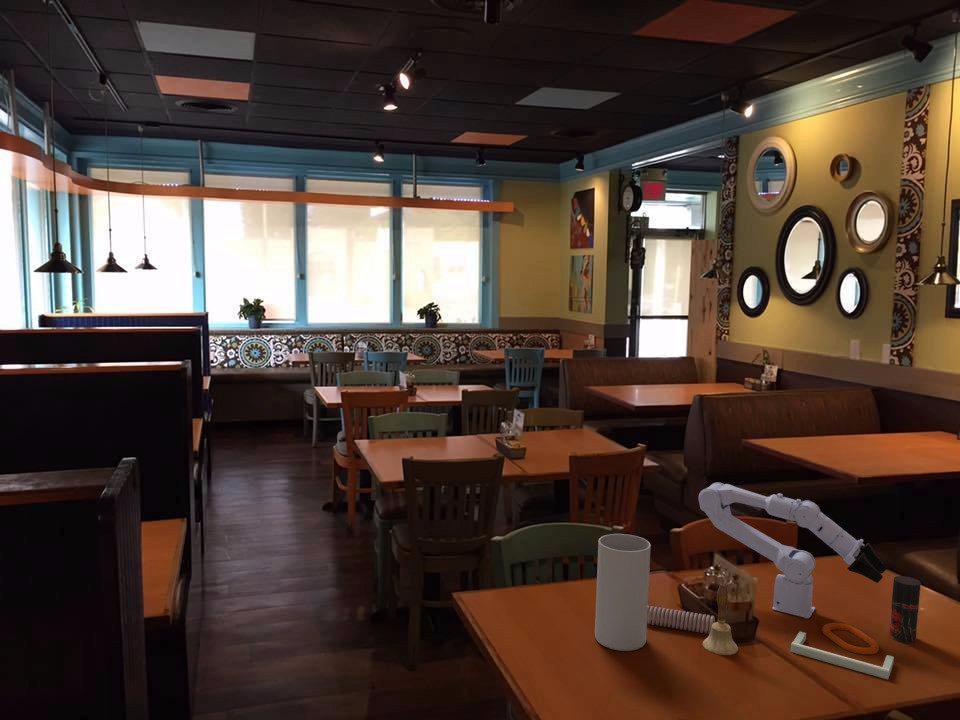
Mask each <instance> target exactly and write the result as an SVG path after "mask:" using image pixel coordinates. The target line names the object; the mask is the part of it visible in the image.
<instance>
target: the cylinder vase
mask: <svg viewBox="0 0 960 720" xmlns="http://www.w3.org/2000/svg"><path fill="white" fill-rule="evenodd" d="M597 545H598V546H597V549H598V550H597V571H596V572H597V573H596V596H595V597H596V598H595V600H596V601H595V621H594V623H595V625H594V637H595V639H596V641H597V642H598V643H599V644H600V645H602V646H603V647H606V648H607V649H611V650H614V651H619V652H620V651H621V652H632V651H635V650H639V649H640V648H643V646H644V645H646V642H647V631H648V630H647V629H648V616H647V611H648V605H649V604H648V603H649V588H650V587H649V583H650V563H651V546H652V545H651V543H650V542H649V541H648V540H647V539H645V538H644V537H640V536H637V535H632V534H628V533H627V534H623V533H611V534H606V535H602V536H601V537H600V538H598V544H597Z"/></svg>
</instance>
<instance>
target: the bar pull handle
mask: <svg viewBox="0 0 960 720" xmlns="http://www.w3.org/2000/svg"><path fill="white" fill-rule="evenodd" d="M806 640H807V633H806V632H803V631H799V632H798V633H797V634H796V637H795V638H794V640H793V641H792V642H791V644H790V652H791V653H795V654H798V655H799V656H800V655H801V656H804V657H807V658H811V659H815V660H819V661H822V662H824V663H825V662H826V663H829V664H833V665H835V666H839V667H843V668H846V669H850V670H853V671H856V672H860V673H863V674H866V675H871V676H874V677H877V678H881V679H884V680H889V677H890V675H891V673H892V670H893V666H894V660H895V657H894V656H892V655H888V654H887V655H886V656H885V659H884V662H883V665H882V666H879V665H875V664H872V663H868V662H865V661H861V660H858V659H854V658H850V657H846V656H844V655H840V654H837V653H832V652H829V651H825V650H822V649H818V648H815V647H811V646H807V645H806V644H805V645H804V643H805V642H806Z"/></svg>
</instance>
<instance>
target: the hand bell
mask: <svg viewBox="0 0 960 720" xmlns="http://www.w3.org/2000/svg"><path fill="white" fill-rule="evenodd" d="M728 594H729V593H728V590H727V586H726V584H725V583H719V586H718V589H717V592H716V603H717V608H718V609H717V610H718V613H717V614H718V615H717V621H715V623H713V624H712V627H711V632H710V634H708V636H707V637H706V638H705V639H703V641H702V646H703V648H704V649H705V650H706V651H708V652H710V653H712V654H716V655H719V656H732V655H735V654H736V653H738V651H739V647H738V645H737V644H736V642H735V641H734V639H733V636H732V629H731V626H730V625H729V624H728V623H726V607H727V605H728V599H729V598H728V597H729V596H728Z"/></svg>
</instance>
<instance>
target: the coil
mask: <svg viewBox="0 0 960 720" xmlns="http://www.w3.org/2000/svg"><path fill="white" fill-rule="evenodd" d="M713 623H716V618H715V616H714V615H710V614H707V615H706V614H705V613H704V614H702V613H699V614H698V612H695V613H694V612H693V611H692V612H691V611H687V612H686V610H683V611H682V610H678V609H673V608H672V609H670V608H665V607H661V606H660V607H658V606H655V607H654V605H651V606H650V605H649V604H648V611H647V625H652V626H654V625H656V626H660V627H664V628H666V627H667V628H668V629H669V628H671V629H676V630H678V629H679V630H681V631H682V630H683V631H689V632H690V631H692V632H693V633H694V632H696V633H700V634H703V633H704V634H708V635H710V632H711V627H712V624H713Z"/></svg>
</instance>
